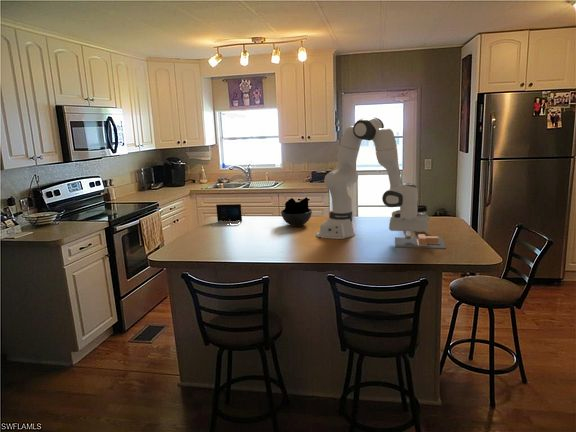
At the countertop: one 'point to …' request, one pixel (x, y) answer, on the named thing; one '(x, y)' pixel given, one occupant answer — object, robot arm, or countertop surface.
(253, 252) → the countertop surface
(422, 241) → the t block
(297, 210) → the coal bowl
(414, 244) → the t mat
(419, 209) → the coffee cup
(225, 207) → the laptop
